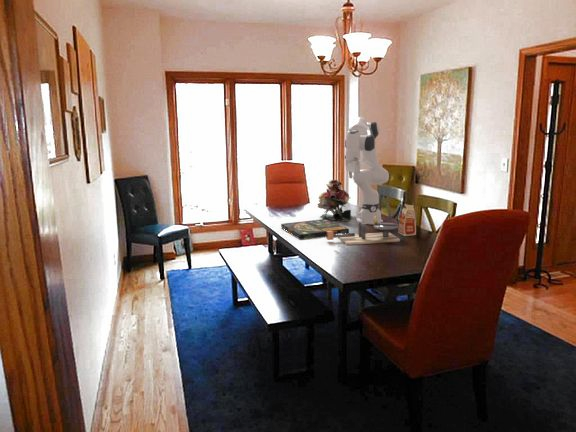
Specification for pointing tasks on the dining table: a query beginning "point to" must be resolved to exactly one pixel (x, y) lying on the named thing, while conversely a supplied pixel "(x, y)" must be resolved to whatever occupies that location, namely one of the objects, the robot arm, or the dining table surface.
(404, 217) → the milk carton
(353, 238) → the base board
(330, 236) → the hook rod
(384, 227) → the handwheel
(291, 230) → the pizza box
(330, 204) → the rose bouquet
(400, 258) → the dining table surface
